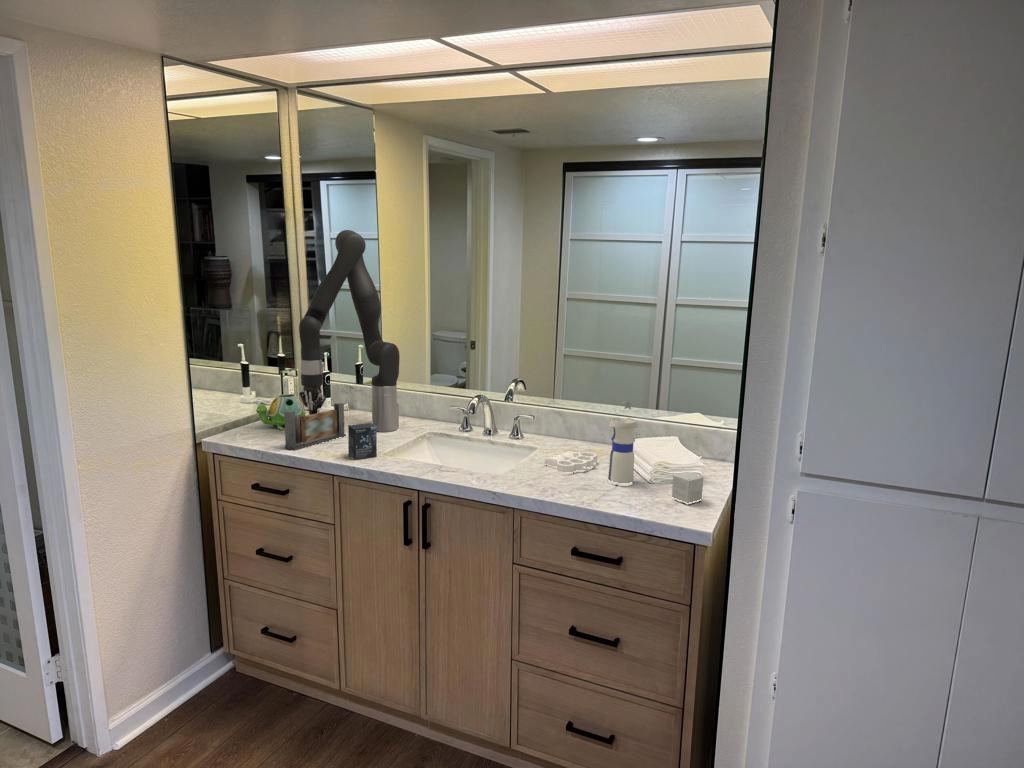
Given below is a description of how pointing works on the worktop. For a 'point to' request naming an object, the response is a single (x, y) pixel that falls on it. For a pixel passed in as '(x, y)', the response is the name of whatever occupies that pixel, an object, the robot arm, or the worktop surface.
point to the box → (362, 441)
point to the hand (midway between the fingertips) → (313, 419)
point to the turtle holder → (281, 410)
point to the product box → (687, 487)
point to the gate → (315, 426)
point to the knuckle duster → (572, 461)
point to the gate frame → (291, 439)
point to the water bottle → (622, 449)
